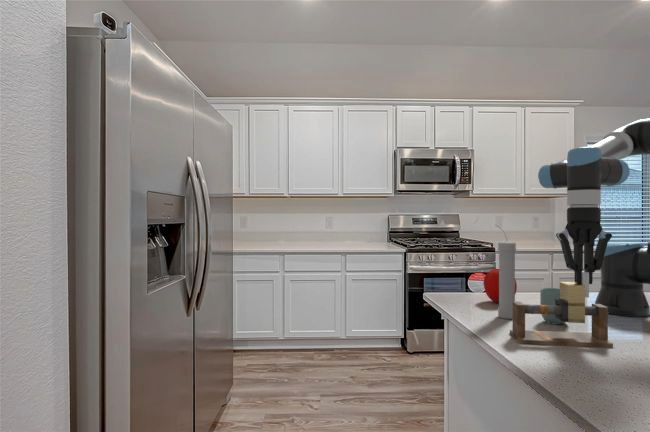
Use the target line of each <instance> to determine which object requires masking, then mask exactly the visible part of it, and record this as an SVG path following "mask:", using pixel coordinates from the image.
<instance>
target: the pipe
mask: <svg viewBox="0 0 650 432" xmlns="http://www.w3.org/2000/svg"><path fill="white" fill-rule="evenodd" d="M495 226H496V227H498V228H499V229H500V230H501V231H502V232H503V234H504V237H505V239H506V241H500V242H499V241H498V242H497V243H498V244H497V251H498V269H499V303H498V307H497V311H498V312H497V313H498V317H499V318H501V319H504V320H505V319H506V320H513V302H516V294H515V280H516V272H515V271H516V261H515V259H516V251H517V243H516V242H513V241H508V239H507V235H506V233H505V231H504V230H503V229H502V228H501V227H500V226H499V225H497V224H495Z"/></svg>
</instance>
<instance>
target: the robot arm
mask: <svg viewBox="0 0 650 432" xmlns="http://www.w3.org/2000/svg"><path fill="white" fill-rule="evenodd" d="M641 155H650V118H643V119H637V120H635V121H633V122H630V123H628V124H626V125H623V126H621V127H619V128H617V129H615V130H613V131H611V132H609V133H607V134H605V136H604V137H603V138H602V140H600V141H598V142H596V143H594V144H592V145H590V146H579V147H575V148H571V149H569V150H568V152H567V157H566V158H565V159H562V160H561V161H559V162H556V163H549V164H544V165H542V166H541V167H540V168H539V170H538V176H537V179H538V182H539V184H540V186H542V187H543V188H544V189H554V190H555V189H563V188H566V205H567V206H569V207H568V208H567V209H566V222H567V223H566V225H565V228H564V229H563V231H561V232H556V234H555V237H556V238H557V240H558V241H559V242H560V243H559V244H560V246H561V251H562V254H563V258H564V262H565V266H566V268H567V269H570V270H573V272H574V282H575V283H577V284H582V285H585V298H590V285H592V284H593V280H594V279H593V273H595V272H596V271H599V270H600V289H599V290H598V292H597V293H598V294H597V296H596V298H595V302H594V304H601V305H603V306H606V307H608V315H609V314H610V315H616V316H626V317H647V316H650V305H649V301H648V300H647V297H646V294H645V292H644V284H645V285H650V240H648V242H647V247H645V245H644V244H643V243H642V242H640V243H639V242H636V243H619V244H617V243H616V244H608V243H609V242H610V240H611V239H612V237H613V234H612V233H609V232H606V231H605V230H603V227H602V224H601V221H602V219H601V218H602V217H601V216H602V215H601V214H602V211H601V210H602V208H600V207H599V206H601V205H602V201H601V200H602V197H601V196H602V189H601V188H602V186H607V187H614V186H619V185H621V184H623V183H625V182H626V181H627V179H628V178H629V176H630V166H629V165H628V163H627V162H626V161H624V160H623V159H626V158H627V157H634V156H641ZM569 238H571V240H572V245H573V253H572V249H571V248H572V247H571V244H570V241H569ZM597 238H598V240H597V242H596V241H595V240H596V239H597ZM595 242H596V243H597V244H596V248H594V246H595ZM594 249H595V250H594Z"/></svg>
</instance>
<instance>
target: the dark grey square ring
mask: <svg viewBox="0 0 650 432" xmlns="http://www.w3.org/2000/svg"><path fill="white" fill-rule="evenodd" d="M555 305H561V315H555V317H556V318H558V319H559V320H561V321H562V322H566V323H568V303H567V302H565V301H563V300H561V299H555Z"/></svg>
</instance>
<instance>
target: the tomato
mask: <svg viewBox="0 0 650 432" xmlns="http://www.w3.org/2000/svg"><path fill="white" fill-rule="evenodd" d="M483 288H484V289H483V290H484V292H485V294H486V296H487V297H488V298H489V300H490V301H493V303H498V304H499V268H494V267H493V268H492V269H490V271H488V272H487V273H486V274H485V276H484V278H483ZM517 288H518V287H517V280H516V279H515V295H516V294H517Z"/></svg>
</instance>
